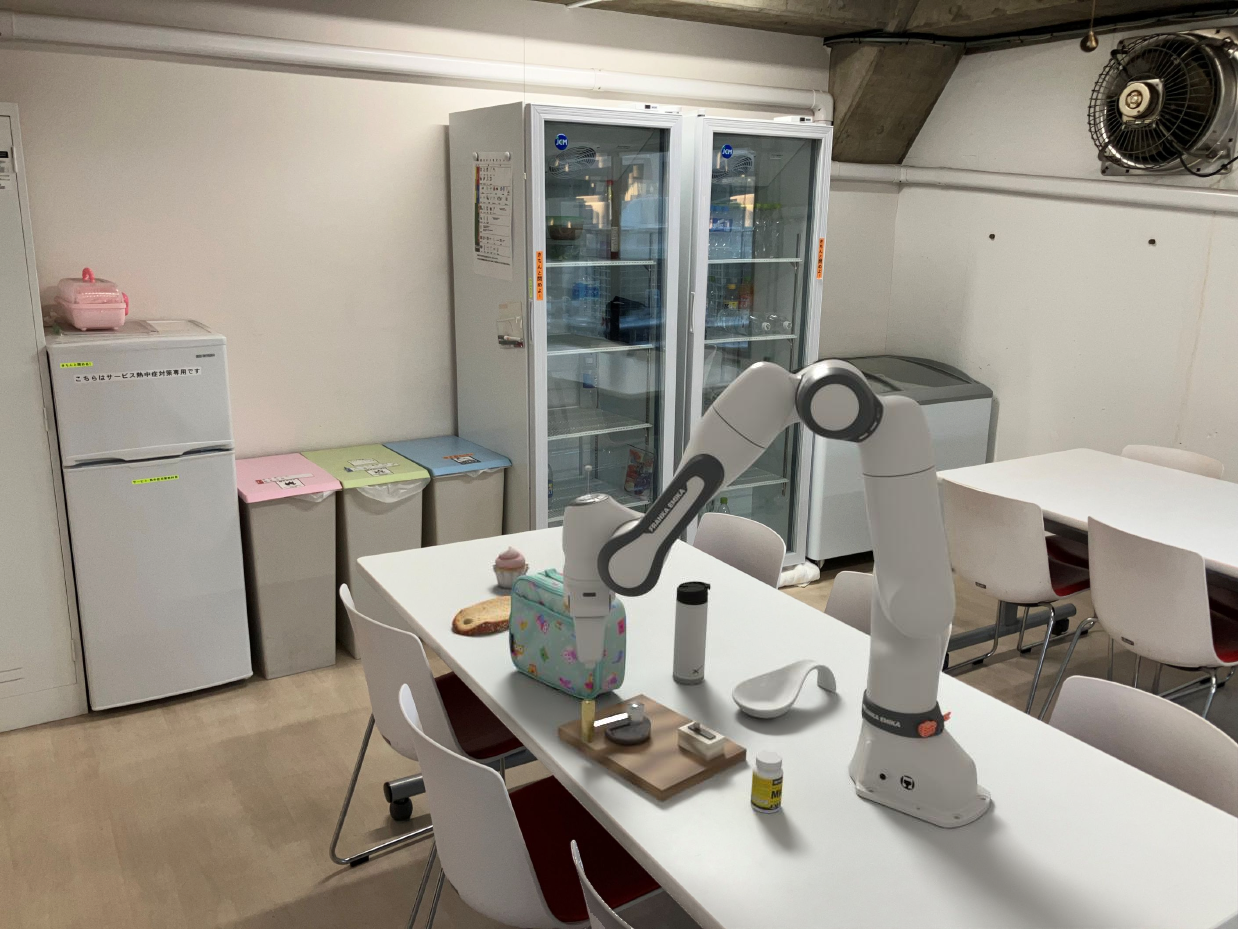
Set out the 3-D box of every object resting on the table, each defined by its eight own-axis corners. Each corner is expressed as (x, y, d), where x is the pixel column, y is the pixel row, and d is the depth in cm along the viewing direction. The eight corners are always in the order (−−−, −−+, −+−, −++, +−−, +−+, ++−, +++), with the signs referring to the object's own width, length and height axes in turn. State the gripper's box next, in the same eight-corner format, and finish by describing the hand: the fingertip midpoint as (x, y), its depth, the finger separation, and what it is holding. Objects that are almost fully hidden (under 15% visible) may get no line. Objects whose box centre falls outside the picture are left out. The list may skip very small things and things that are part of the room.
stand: (745, 759, 167) (748, 724, 166) (661, 801, 154) (663, 764, 153) (641, 703, 186) (642, 671, 185) (558, 737, 173) (558, 703, 172)
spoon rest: (763, 733, 177) (765, 697, 175) (718, 708, 186) (720, 672, 184) (849, 699, 191) (852, 665, 189) (804, 676, 200) (806, 644, 198)
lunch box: (498, 666, 200) (498, 566, 195) (536, 652, 208) (537, 555, 203) (592, 711, 183) (595, 603, 178) (630, 694, 190) (633, 589, 185)
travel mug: (703, 686, 194) (708, 590, 189) (670, 683, 195) (674, 587, 190) (707, 673, 200) (712, 579, 195) (675, 669, 201) (679, 576, 196)
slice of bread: (524, 603, 235) (524, 588, 234) (536, 633, 218) (536, 617, 217) (447, 608, 231) (447, 593, 230) (453, 638, 214) (453, 622, 213)
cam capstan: (634, 718, 176) (635, 677, 174) (659, 738, 169) (661, 695, 167) (570, 736, 169) (570, 693, 167) (594, 757, 162) (595, 713, 161)
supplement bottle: (773, 817, 151) (777, 768, 149) (745, 807, 154) (748, 758, 152) (785, 803, 155) (789, 754, 153) (758, 793, 157) (761, 745, 156)
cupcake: (509, 575, 253) (509, 538, 250) (536, 583, 247) (537, 545, 245) (483, 585, 245) (483, 547, 243) (511, 594, 240) (511, 554, 238)
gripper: (571, 568, 176) (572, 641, 179) (569, 611, 156) (571, 691, 159) (606, 568, 176) (607, 640, 179) (609, 610, 156) (610, 691, 160)
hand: (590, 665), depth 169 cm, fingers closed
